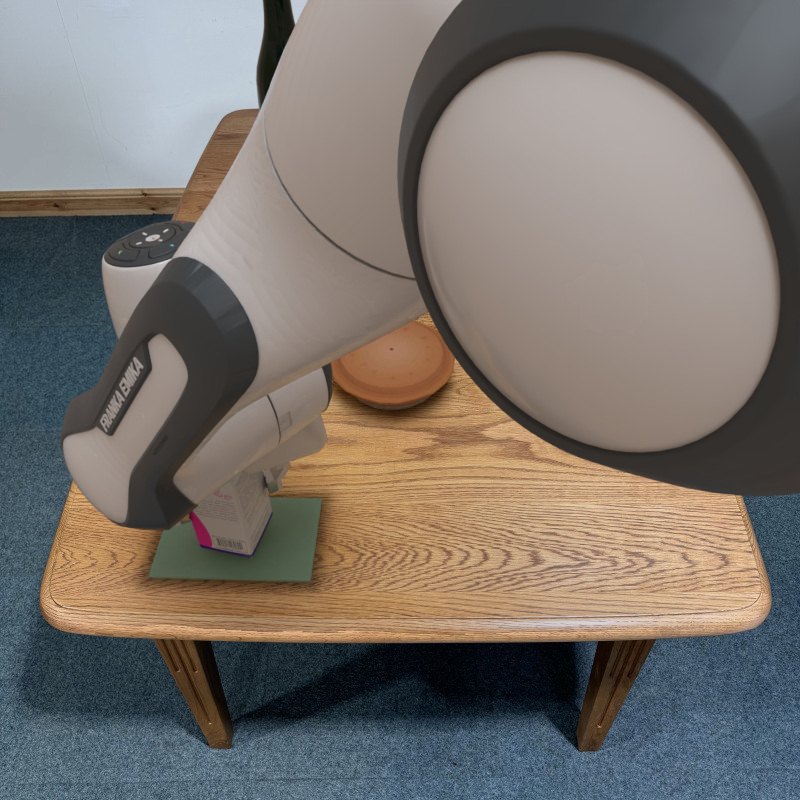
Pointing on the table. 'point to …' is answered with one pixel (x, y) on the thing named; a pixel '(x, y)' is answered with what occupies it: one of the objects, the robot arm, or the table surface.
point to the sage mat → (272, 562)
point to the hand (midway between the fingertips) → (229, 502)
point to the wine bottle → (272, 42)
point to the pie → (396, 368)
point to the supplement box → (234, 516)
